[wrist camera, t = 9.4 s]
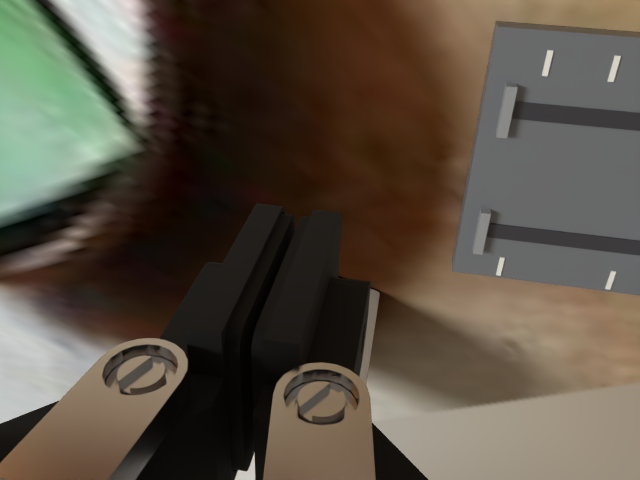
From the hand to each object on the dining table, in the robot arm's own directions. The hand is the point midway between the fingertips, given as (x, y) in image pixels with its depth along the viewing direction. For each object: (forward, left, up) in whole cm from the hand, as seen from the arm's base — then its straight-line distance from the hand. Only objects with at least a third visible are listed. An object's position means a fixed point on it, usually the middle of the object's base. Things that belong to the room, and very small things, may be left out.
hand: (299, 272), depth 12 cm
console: (+8, +16, -27) cm, 32 cm away
